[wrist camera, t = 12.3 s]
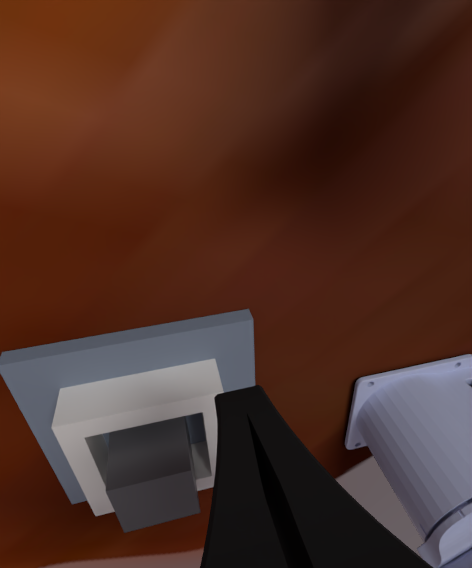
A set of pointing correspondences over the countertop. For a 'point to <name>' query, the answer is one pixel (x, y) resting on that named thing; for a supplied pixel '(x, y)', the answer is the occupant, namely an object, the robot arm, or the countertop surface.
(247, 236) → the countertop surface
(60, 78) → the countertop surface
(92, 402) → the socket plate
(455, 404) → the robot arm
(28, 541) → the countertop surface
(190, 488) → the plug
